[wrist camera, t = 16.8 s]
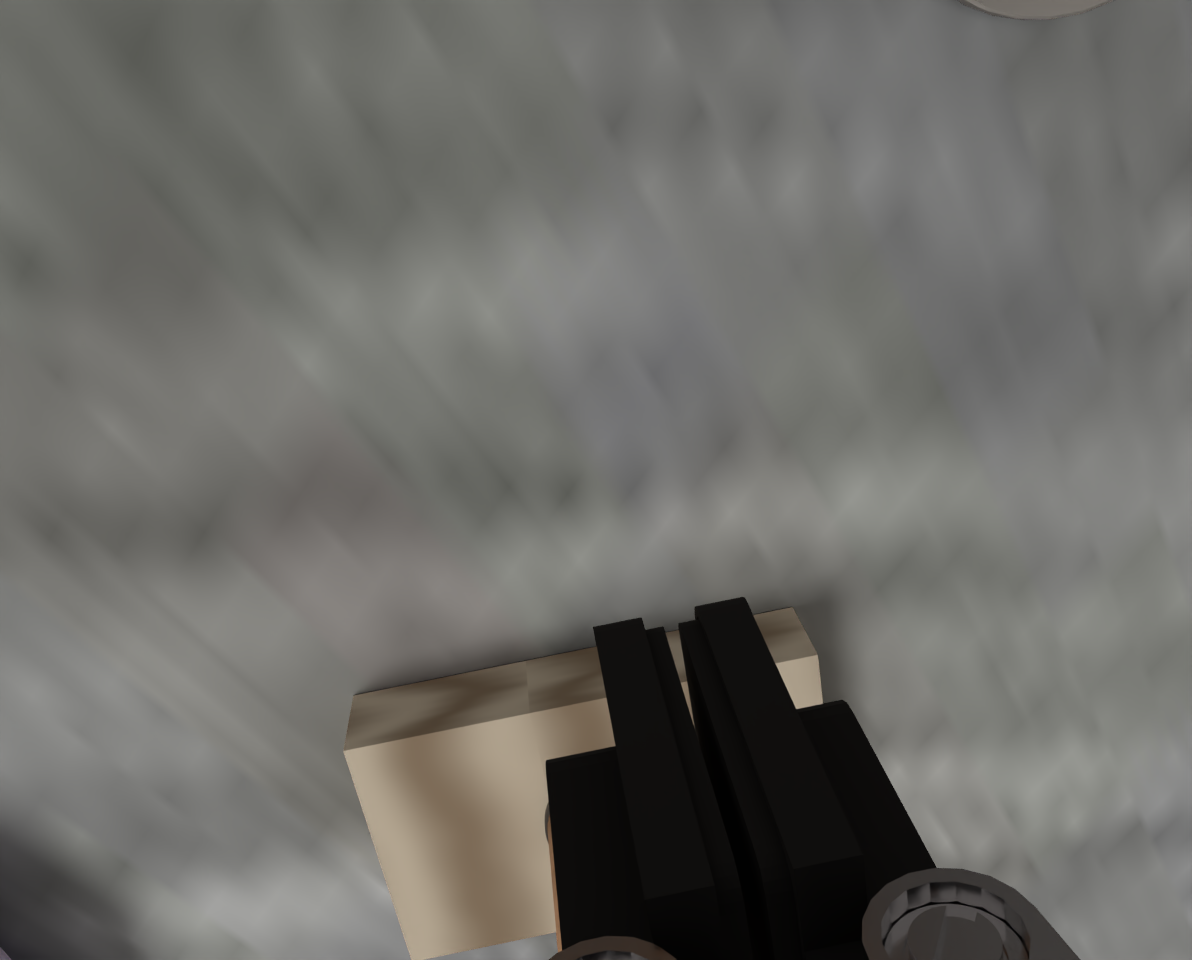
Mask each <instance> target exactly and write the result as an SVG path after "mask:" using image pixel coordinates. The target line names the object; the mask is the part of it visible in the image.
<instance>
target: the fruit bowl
mask: <svg viewBox="0 0 1192 960" xmlns="http://www.w3.org/2000/svg"><path fill="white" fill-rule="evenodd" d="M0 960H11V958H10V957H9V956H8V955H7V954H6V953H5V952H4V951H3V949H2V948H1V947H0Z"/></svg>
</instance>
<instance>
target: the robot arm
mask: <svg viewBox="0 0 1192 960" xmlns="http://www.w3.org/2000/svg"><path fill="white" fill-rule="evenodd" d="M957 1H959V2H960V3H962V4H963V5H965V6H968V7H971V8H973V9H976V10H979V11H981V12H984V13H987V14H989V15H992V16H998V17H1005V18H1013V19H1020V20H1038V19H1047V20H1050V19H1055V18H1061V17H1066V16H1071V15H1077V14H1082V13H1085V12H1087V11H1090V10H1092V9H1095V8H1097V7H1100V6H1102V5H1104V4H1107V3H1109V2H1112V1H1114V0H957ZM593 629H594V635H595V640H596V645H597V651H598V656H599V661H600V666H601V672H602V677H603V682H604V688H605V693H606V698H607V704H608V709H609V714H610V719H611V725H612V730H613V735H614V741H615V746H613V747H608V748H603V749H598V750H593V751H588V752H584V753H579V754H574V755H569V756H564V757H559V758H554V759H549V760H546V779H547V790H548V801H549V812H550V823H551V834H552V845H553V856H554V867H555V878H556V889H557V900H558V911H559V922H560V933H561V944H562V951H560V952H558V953H556V954H555V955H554V956H553V957H552V958H550V959H549V960H1080V959H1079V958H1078V956H1077V955H1076V954H1075V953H1074V952H1073V951H1072V949H1071V948H1070V947H1069V946H1068V945H1067V944H1066V942H1065V941H1064V940H1063V939H1062V938H1061V937H1060V935H1059V934H1058V933H1057V932H1056V931H1055V929H1054V928H1053V927H1052V926H1051V925H1050V924H1049V922H1048V921H1047V920H1046V919H1045V918H1044V917H1043V915H1042V914H1041V913H1040V912H1039V911H1038V910H1037V908H1036V907H1035V906H1034V905H1033V904H1031V903H1030V902H1029V901H1028V900H1027V899H1026V898H1025V897H1023V896H1022V895H1021V894H1020V893H1019V892H1018V891H1017V890H1016V889H1014V888H1012V887H1010V886H1008V885H1006V884H1004V883H1002V882H1001V881H999V880H997V879H995V878H993V877H991V876H988V875H984V874H980V873H976V872H972V871H968V870H965V869H951V868H936V866H935V864H934V862H933V860H932V858H931V856H930V855H929V853H928V851H927V849H926V847H925V845H924V843H923V842H922V840H921V838H920V836H919V834H918V832H917V830H916V829H915V827H914V825H913V823H912V821H911V819H910V817H909V816H908V814H907V812H906V810H905V808H904V806H903V804H902V803H901V801H900V799H899V797H898V795H897V793H896V791H895V790H894V788H893V786H892V784H891V782H890V780H889V778H888V777H887V775H886V773H885V771H884V769H883V767H882V765H881V764H880V762H879V760H878V758H877V756H876V754H875V752H874V751H873V749H872V747H871V745H870V743H869V741H868V739H867V737H866V736H865V734H864V732H863V730H862V728H861V726H860V724H859V723H858V721H857V719H856V717H855V715H854V713H853V711H852V710H851V708H850V707H849V705H848V704H847V702H845V701H843V700H839V701H834V702H829V703H824V704H819V705H814V706H809V707H804V708H799V709H796V707H795V705H794V703H793V701H792V699H791V696H790V694H789V692H788V690H787V688H786V686H785V683H784V681H783V679H782V677H781V675H780V673H779V670H778V668H777V666H776V664H775V662H774V659H773V657H772V655H771V653H770V651H769V649H768V646H767V644H766V642H765V640H764V638H763V635H762V633H761V631H760V629H759V627H758V625H757V622H756V620H755V618H754V616H753V614H752V612H751V609H750V607H749V605H748V603H747V601H746V599H745V598H744V597H740V598H735V599H730V600H725V601H720V602H715V603H710V604H705V605H700V606H695V620H693V621H688V622H683V623H679V634H680V641H681V647H682V653H683V659H684V665H685V671H686V678H687V684H688V690H689V696H690V702H691V708H692V714H693V721H694V725H693V721H692V718H691V715H690V712H689V708H688V705H687V702H686V698H685V695H684V692H683V689H682V685H681V682H680V679H679V675H678V672H677V669H676V666H675V662H674V659H673V656H672V652H671V649H670V646H669V643H668V639H667V636H666V633H665V630H664V627H658V628H653V629H648V630H645V628H644V624H643V621H642V618H636V619H631V620H626V621H621V622H616V623H611V624H606V625H601V626H596V627H593ZM694 727H695V728H694Z"/></svg>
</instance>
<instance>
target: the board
mask: <svg viewBox="0 0 1192 960" xmlns="http://www.w3.org/2000/svg"><path fill="white" fill-rule="evenodd" d="M753 616H754V618H755V620H756V622H757V625H758V627H759V629H760V631H761V633H762V635H763V638H764V640H765V642H766V644H767V646H768V649H769V651H770V653H771V655H772V657H773V659H774V662H775V664H776V666H777V668H778V670H779V673H780V675H781V677H782V679H783V681H784V683H785V686H786V688H787V690H788V692H789V694H790V696H791V699H792V701H793V703H794V705H795V707H796V709H799V708H804V707H809V706H814V705H819V704H823V699H822V690H821V680H820V671H819V661H818V654H817V652H816V650H815V649H814V647H813V645H812V643H811V641H810V639H809V637H808V635H807V633H806V632H805V630H804V628H803V626H802V624H801V622H800V620H799V618H798V617H797V615H796V613H795V611H794V609H793V607H791V608H786V609H781V610H776V611H771V612H766V613H761V614H756V615H753ZM666 636H667V639H668V643H669V646H670V649H671V652H672V656H673V659H674V662H675V666H676V669H677V672H678V675H679V679H680V682H681V685H682V689H683V692H684V695H685V698H686V702H687V705H688V708H689V712H690V715H691V718H692V721H693V714H692V708H691V702H690V696H689V690H688V684H687V678H686V671H685V665H684V659H683V653H682V647H681V641H680V634H679V630H676V631H671V632H666ZM693 725H694V721H693ZM694 728H695V727H694ZM613 746H615V741H614V735H613V730H612V725H611V719H610V714H609V709H608V704H607V698H606V693H605V688H604V682H603V677H602V672H601V666H600V661H599V656H598V651H597V647H592V648H587V649H582V650H577V651H572V652H567V653H562V654H557V655H552V656H547V657H542V658H537V659H532V660H527V661H522V662H517V663H513V664H508V665H503V666H498V667H493V668H488V669H483V670H478V671H473V672H468V673H463V674H458V675H453V676H448V677H443V678H438V679H433V680H428V681H423V682H418V683H413V684H408V685H403V686H398V687H393V688H388V689H383V690H378V691H374V692H369V693H364V694H359V695H354V696H353V701H352V706H351V712H350V718H349V723H348V729H347V734H346V740H345V745H344V754H345V757H346V760H347V764H348V767H349V770H350V773H351V776H352V779H353V782H354V785H355V788H356V791H357V794H358V797H359V800H360V803H361V806H362V810H363V813H364V816H365V819H366V822H367V825H368V828H369V831H370V834H371V837H372V840H373V843H374V846H375V849H376V852H377V856H378V859H379V862H380V865H381V868H382V871H383V874H384V877H385V880H386V883H387V886H388V889H389V892H390V895H391V899H392V902H393V905H394V908H395V911H396V914H397V917H398V920H399V923H400V926H401V929H402V932H403V935H404V938H405V941H406V945H407V948H408V951H409V954H410V957H411V960H424V959H429V958H434V957H438V956H443V955H448V954H453V953H458V952H462V951H467V950H472V949H477V948H482V947H487V946H491V945H496V944H501V943H506V942H511V941H515V940H520V939H525V938H530V937H535V936H540V935H544V934H549V933H554V932H556V924H555V912H554V901H553V889H552V877H551V866H550V854H549V844H548V841H547V838H546V833H545V823H544V819H545V810H546V807H547V804H548V802H549V801H548V790H547V779H546V760H549V759H554V758H559V757H564V756H569V755H574V754H579V753H584V752H588V751H593V750H598V749H603V748H608V747H613Z"/></svg>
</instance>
